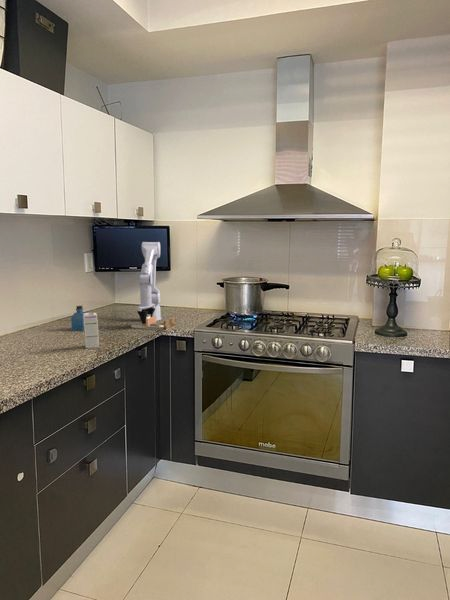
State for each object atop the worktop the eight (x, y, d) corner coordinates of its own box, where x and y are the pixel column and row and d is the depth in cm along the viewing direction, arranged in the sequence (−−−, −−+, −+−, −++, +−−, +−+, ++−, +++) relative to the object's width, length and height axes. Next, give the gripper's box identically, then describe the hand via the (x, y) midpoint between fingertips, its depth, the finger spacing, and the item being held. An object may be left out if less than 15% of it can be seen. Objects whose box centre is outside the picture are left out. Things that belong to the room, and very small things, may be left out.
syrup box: (99, 347, 196) (98, 314, 194) (85, 348, 194) (83, 315, 192) (98, 344, 202) (96, 312, 199) (84, 345, 199) (82, 312, 197)
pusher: (154, 323, 244) (154, 316, 243) (163, 324, 242) (163, 316, 241) (146, 327, 235) (145, 319, 234) (154, 327, 233) (154, 319, 233)
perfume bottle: (82, 330, 229) (81, 307, 227) (71, 330, 230) (70, 306, 228) (88, 328, 235) (88, 305, 233) (78, 327, 236) (77, 305, 234)
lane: (143, 323, 248) (143, 314, 247) (176, 326, 241) (176, 317, 240) (131, 327, 237) (131, 318, 236) (165, 330, 230) (165, 321, 229)
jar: (143, 324, 244) (143, 313, 243) (152, 324, 242) (152, 313, 241) (139, 326, 239) (139, 314, 238) (148, 326, 237) (148, 315, 236)
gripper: (146, 294, 246) (146, 319, 248) (131, 298, 233) (132, 324, 235) (157, 295, 244) (158, 320, 246) (143, 299, 230) (144, 325, 232)
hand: (146, 322), depth 240 cm, fingers closed on jar, 5 cm apart
